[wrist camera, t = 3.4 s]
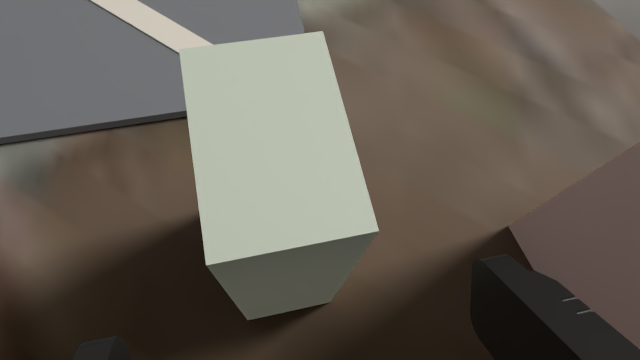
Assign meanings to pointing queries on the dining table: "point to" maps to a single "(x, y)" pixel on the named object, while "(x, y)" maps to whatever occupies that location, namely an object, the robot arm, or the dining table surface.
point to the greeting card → (593, 241)
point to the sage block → (275, 172)
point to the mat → (113, 58)
